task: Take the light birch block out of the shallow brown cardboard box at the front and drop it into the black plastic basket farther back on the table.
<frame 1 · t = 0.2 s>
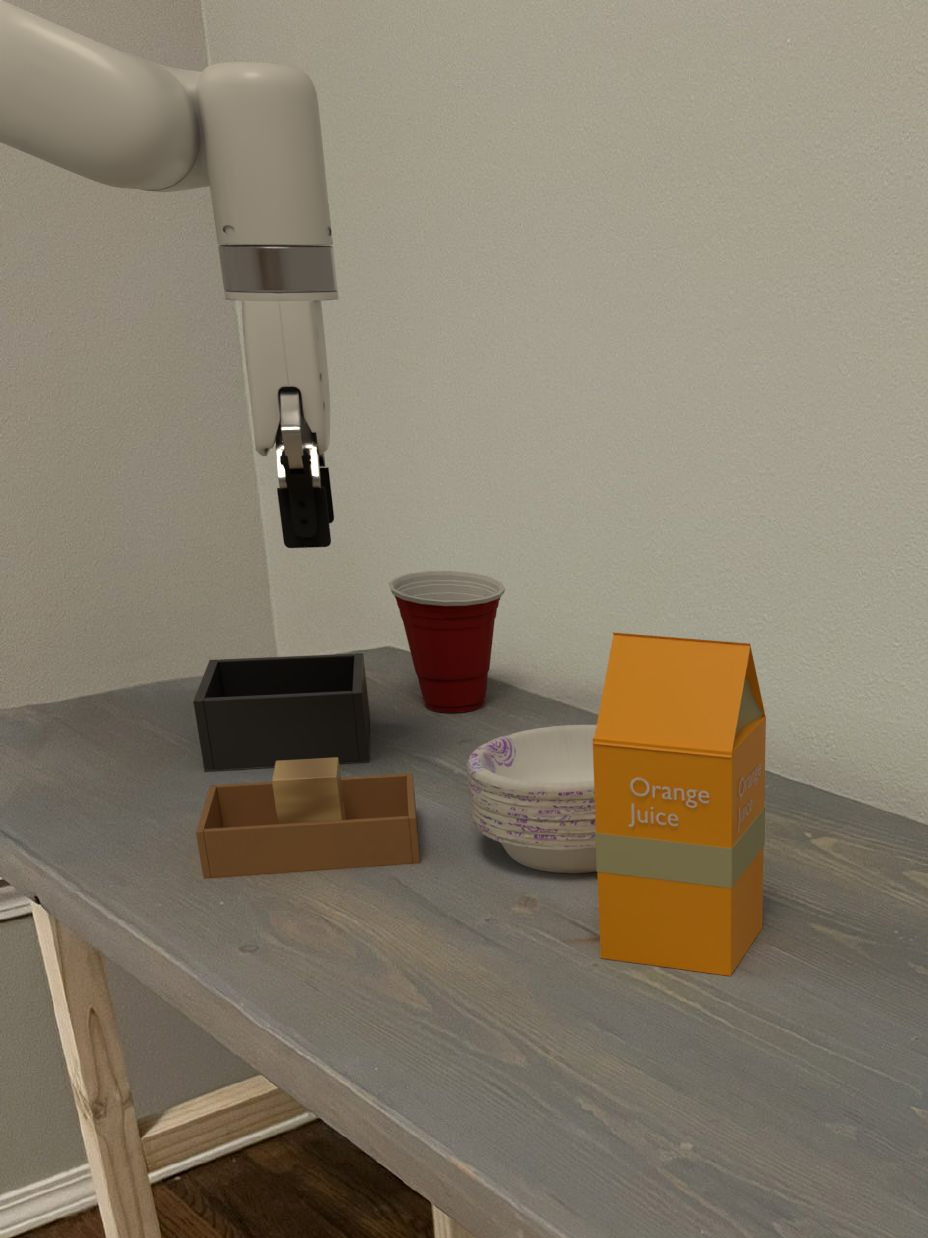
hand: (310, 534, 109), 21 cm above the table, tool pointing down, fingers open, 9 cm apart
paper bowls: (576, 855, 111), on the table
plastic cup: (456, 707, 145), on the table
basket: (292, 748, 132), on the table
block: (315, 845, 110), resting on box
box: (316, 851, 110), on the table
orange juice: (683, 945, 97), on the table
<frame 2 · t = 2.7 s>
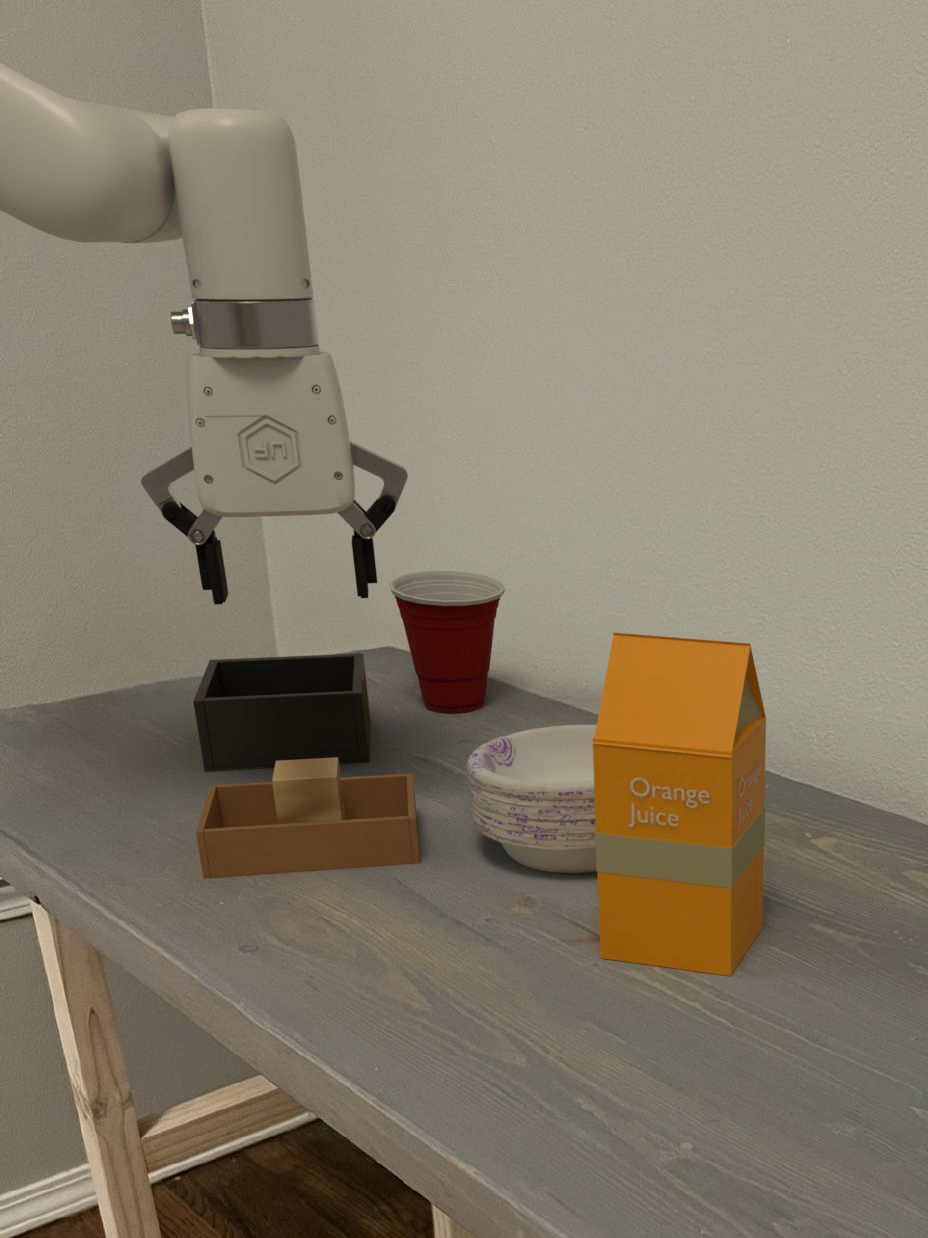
hand: (293, 597, 104), 18 cm above the table, tool pointing down, fingers open, 9 cm apart
nothing on the table moved.
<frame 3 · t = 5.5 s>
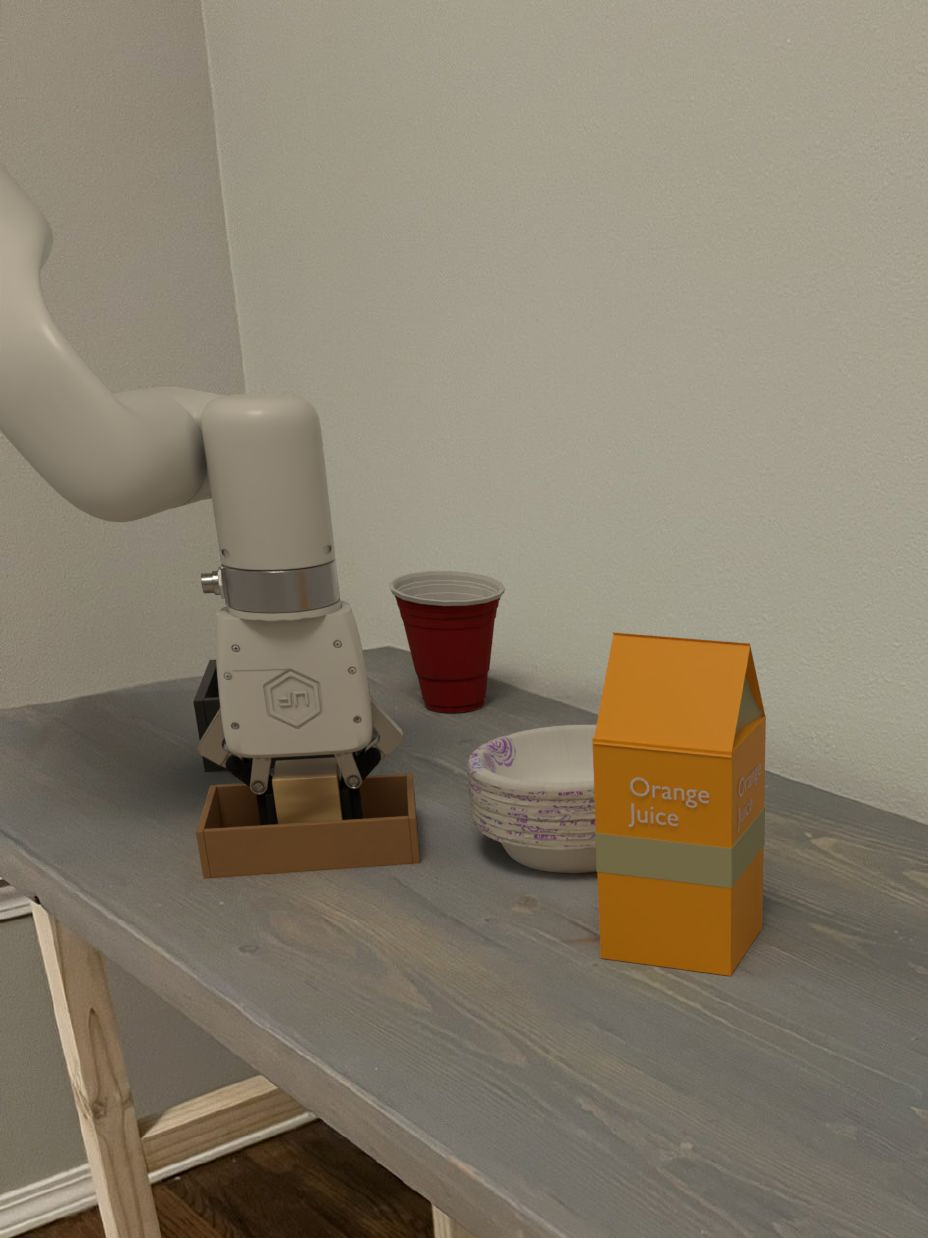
hand: (314, 834, 110), 1 cm above the table, tool pointing down, fingers closed on block, 4 cm apart
block: (315, 845, 110), point 1 cm above the table, touching box, gripper
everything else where it was.
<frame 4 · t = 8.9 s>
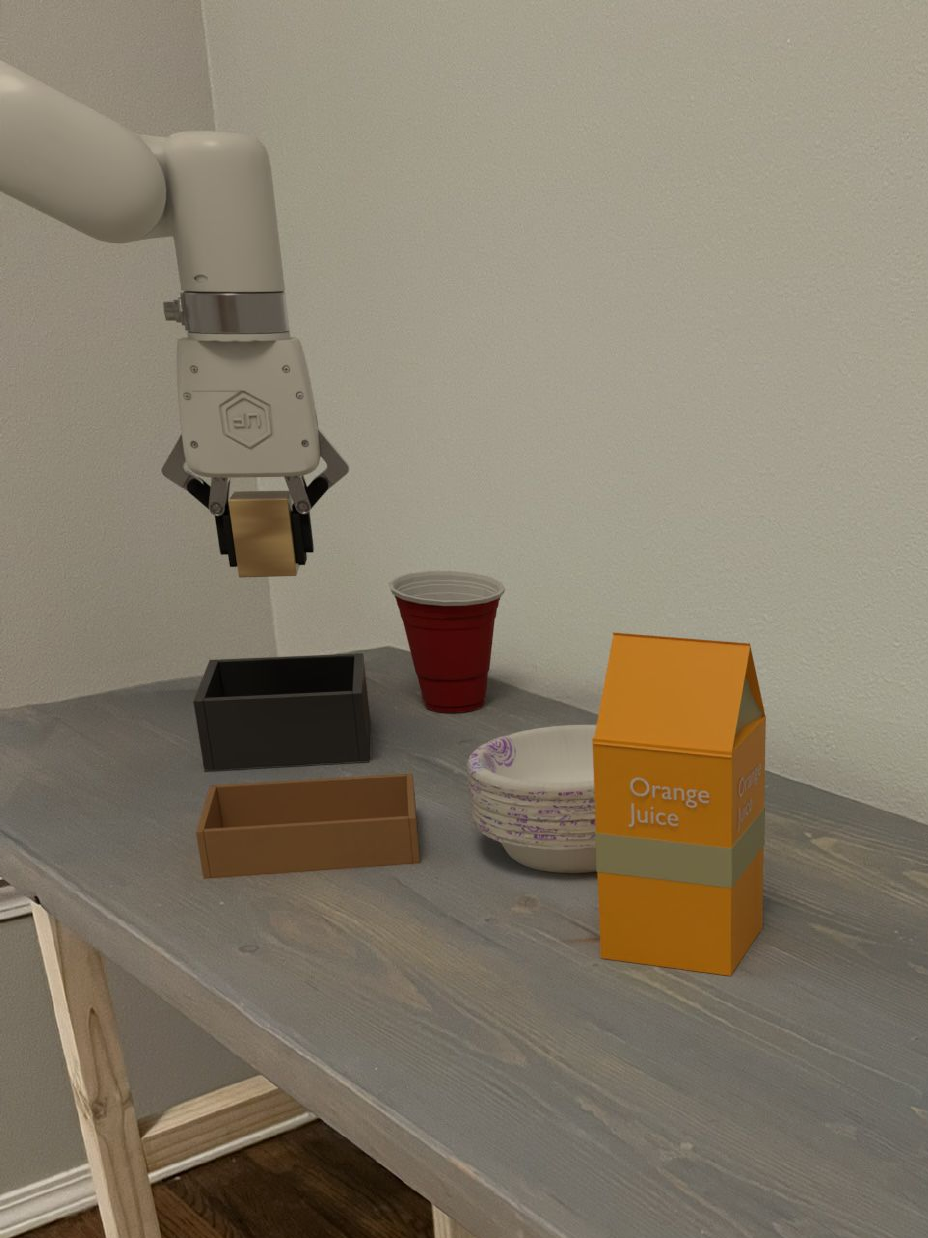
hand: (268, 560, 121), 17 cm above the table, tool pointing down, fingers closed on block, 4 cm apart
block: (270, 571, 121), point 16 cm above the table, touching gripper
everything else where it was.
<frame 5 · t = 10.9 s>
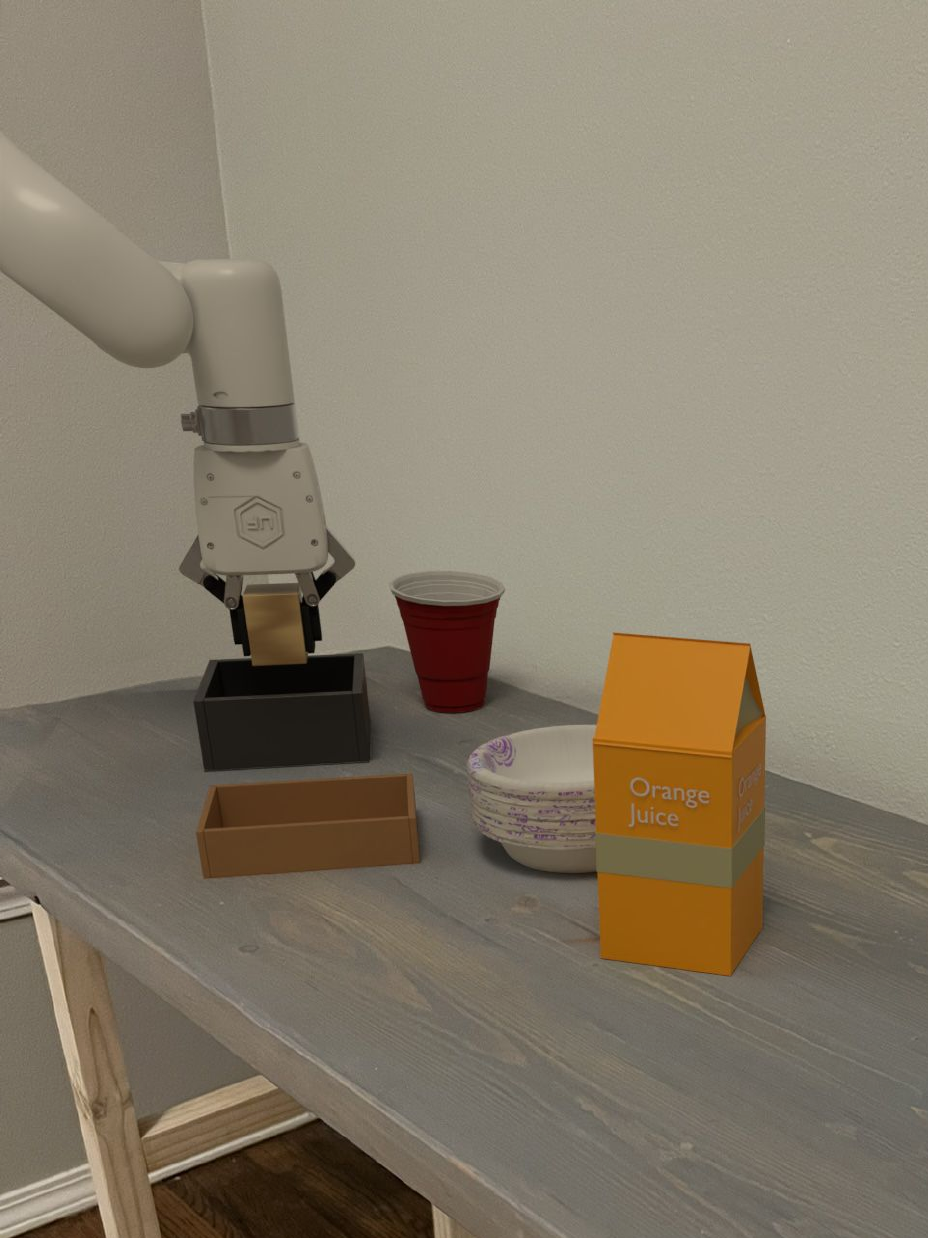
hand: (279, 648, 128), 9 cm above the table, tool pointing down, fingers closed on block, 4 cm apart
block: (281, 658, 129), point 8 cm above the table, touching gripper
everything else where it was.
when the fingers open (5 cm above the table, at t = 12.3 s): block drops 4 cm, resting on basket.
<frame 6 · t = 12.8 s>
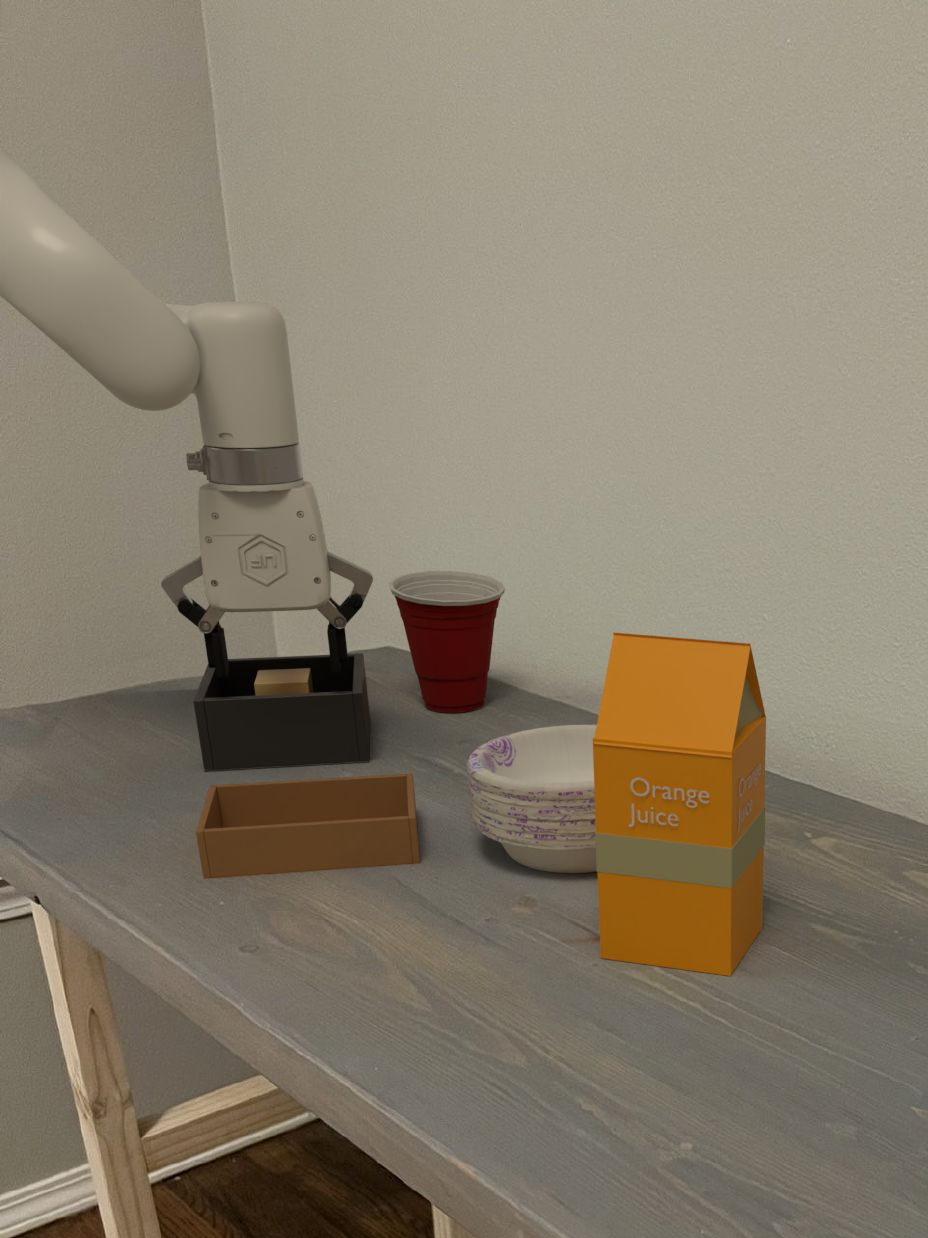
hand: (280, 673, 129), 7 cm above the table, tool pointing down, fingers open, 9 cm apart
block: (291, 741, 132), point 1 cm above the table, touching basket
everything else where it was.
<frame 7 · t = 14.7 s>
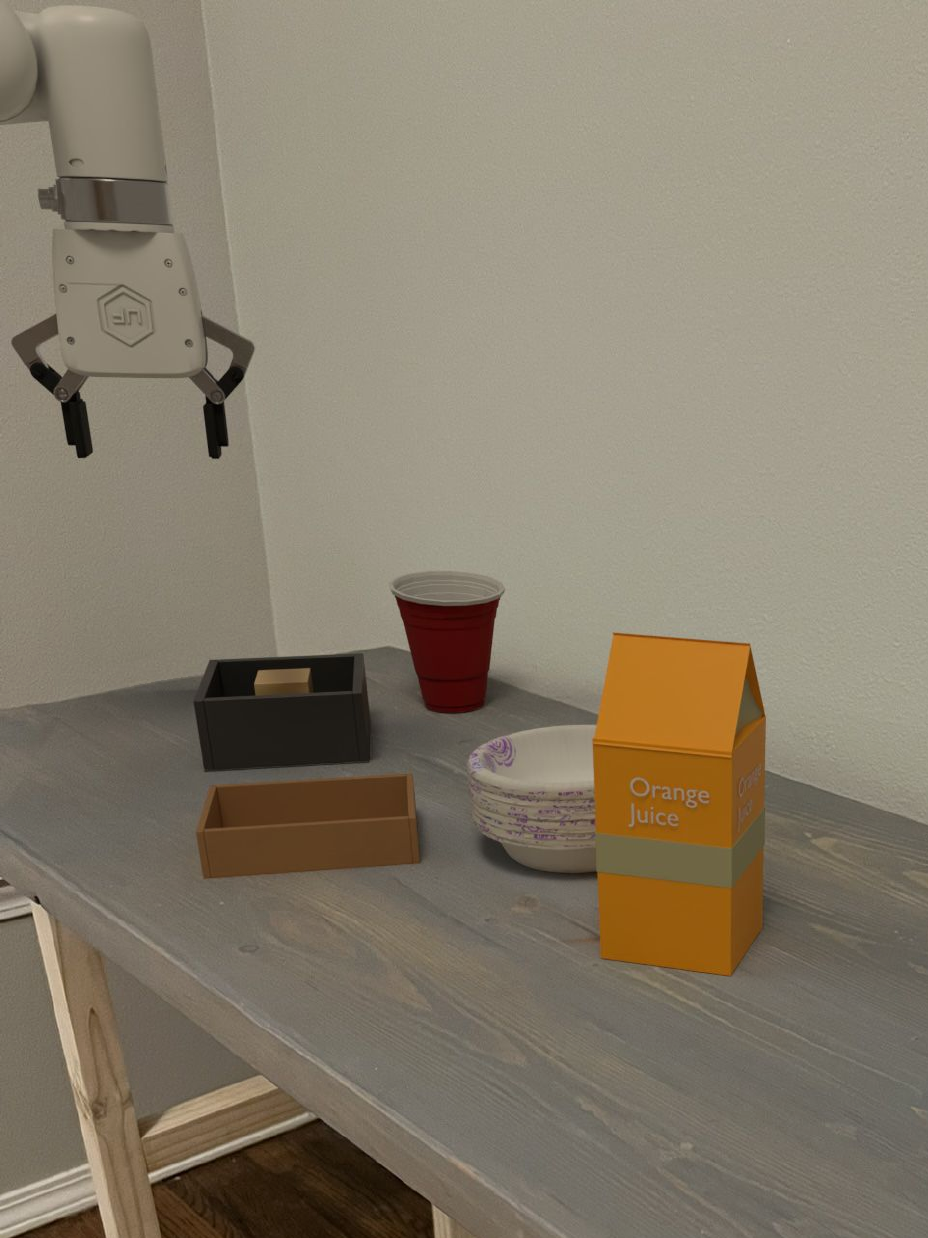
hand: (151, 456, 116), 25 cm above the table, tool pointing down, fingers open, 9 cm apart
nothing on the table moved.
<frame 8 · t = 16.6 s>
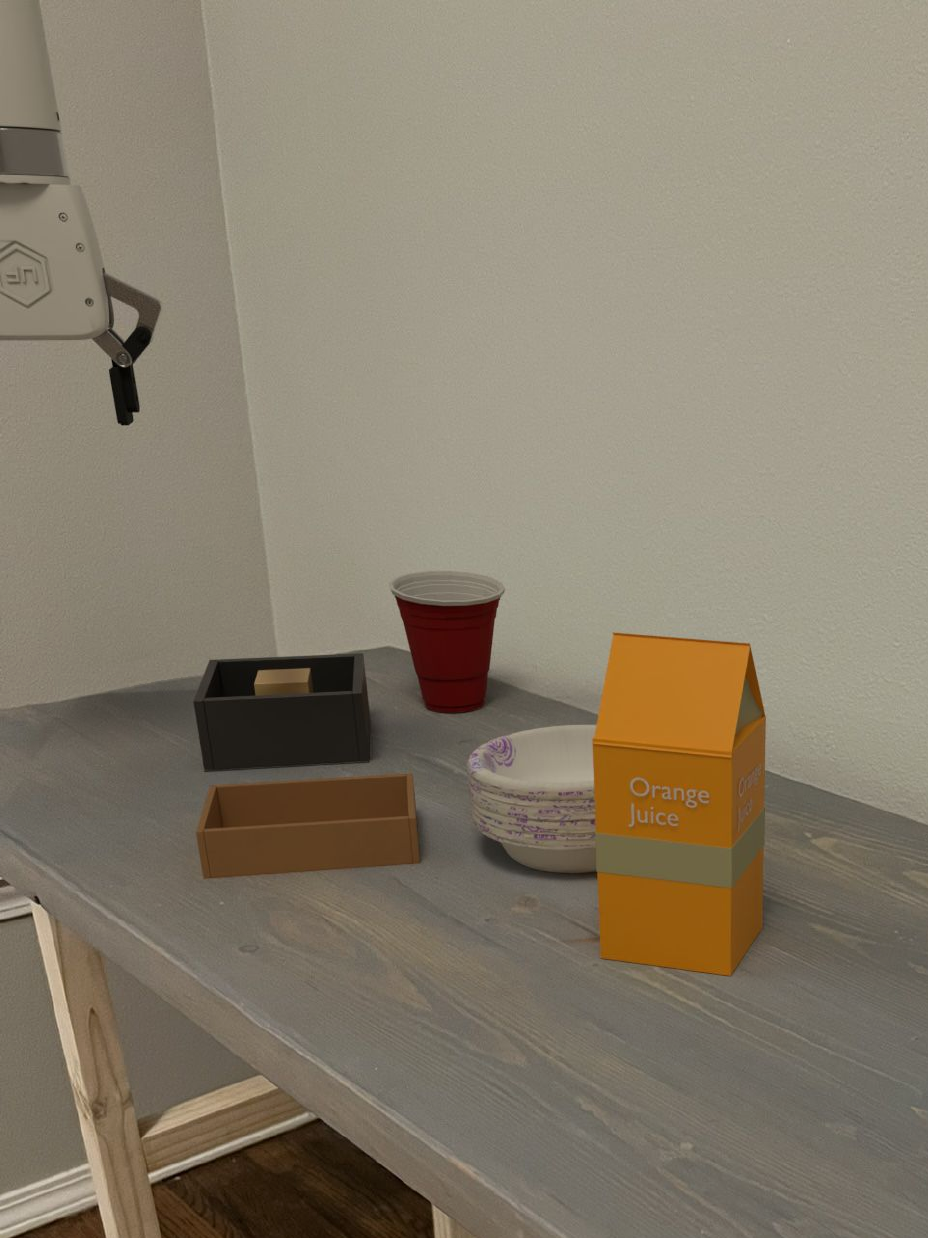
hand: (57, 424, 110), 28 cm above the table, tool pointing down, fingers open, 9 cm apart
nothing on the table moved.
at the end: block inside the target area in the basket (0.0 cm from its centre), point 0.6 cm above the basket's base; the gripper is holding nothing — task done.
